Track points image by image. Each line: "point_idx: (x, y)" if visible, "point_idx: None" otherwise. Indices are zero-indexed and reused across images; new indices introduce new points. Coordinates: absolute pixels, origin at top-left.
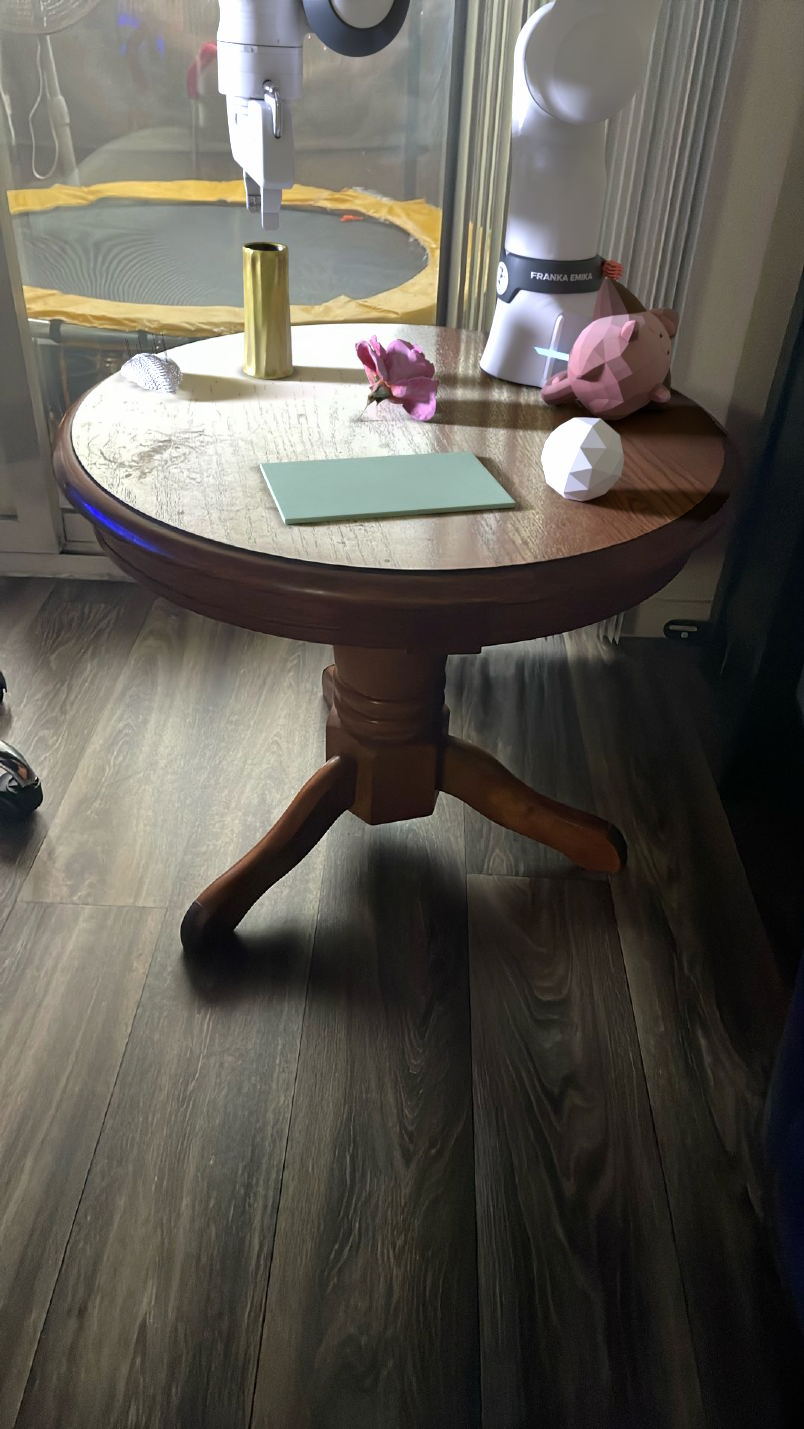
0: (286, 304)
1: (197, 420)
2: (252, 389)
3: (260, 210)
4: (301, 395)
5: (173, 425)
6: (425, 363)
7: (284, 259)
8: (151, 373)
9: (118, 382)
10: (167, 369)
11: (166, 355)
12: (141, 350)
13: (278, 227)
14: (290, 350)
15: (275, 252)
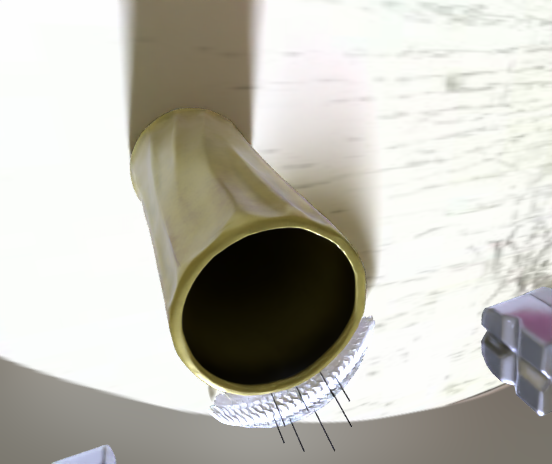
0: (255, 162)
1: (454, 258)
2: (309, 190)
3: (539, 414)
4: (344, 85)
5: (468, 287)
6: None
7: (321, 214)
8: (350, 370)
9: None
10: (340, 352)
11: None
12: (274, 419)
13: (546, 288)
14: (212, 124)
15: (359, 259)
